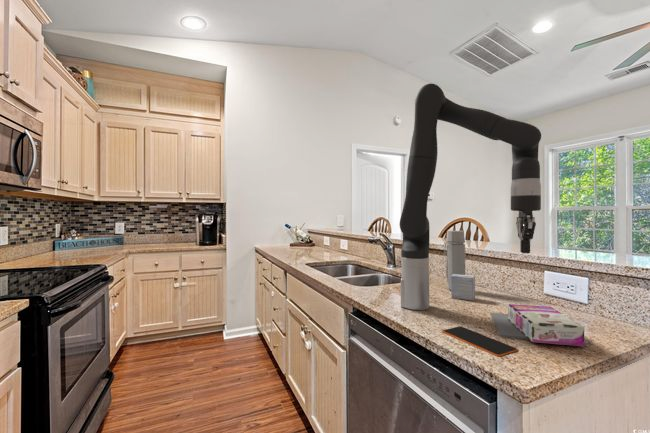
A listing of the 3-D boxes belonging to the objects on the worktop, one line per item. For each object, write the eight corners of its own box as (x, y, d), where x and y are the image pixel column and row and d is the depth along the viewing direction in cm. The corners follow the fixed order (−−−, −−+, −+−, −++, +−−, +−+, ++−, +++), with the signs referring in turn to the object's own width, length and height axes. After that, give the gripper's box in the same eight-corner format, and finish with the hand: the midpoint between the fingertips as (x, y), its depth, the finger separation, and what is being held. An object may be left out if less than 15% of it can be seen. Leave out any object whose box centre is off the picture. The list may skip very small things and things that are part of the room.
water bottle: (464, 288, 131) (463, 230, 131) (467, 292, 124) (466, 231, 124) (441, 287, 134) (441, 230, 134) (442, 291, 126) (442, 231, 127)
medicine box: (475, 298, 115) (475, 275, 115) (474, 301, 112) (473, 277, 112) (453, 295, 120) (452, 273, 120) (451, 298, 116) (450, 275, 116)
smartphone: (498, 359, 67) (498, 355, 67) (440, 333, 82) (440, 330, 82) (520, 352, 71) (520, 348, 71) (460, 328, 86) (460, 325, 86)
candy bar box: (507, 320, 89) (531, 342, 73) (507, 303, 89) (530, 322, 73) (551, 323, 86) (585, 347, 70) (551, 306, 86) (585, 326, 70)
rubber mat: (500, 336, 79) (500, 334, 79) (490, 314, 96) (490, 312, 96) (586, 347, 72) (586, 344, 72) (559, 321, 90) (559, 319, 90)
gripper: (547, 193, 83) (547, 256, 83) (534, 195, 95) (534, 251, 95) (515, 193, 85) (515, 255, 86) (506, 196, 98) (506, 250, 98)
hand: (525, 252), depth 90 cm, fingers closed
